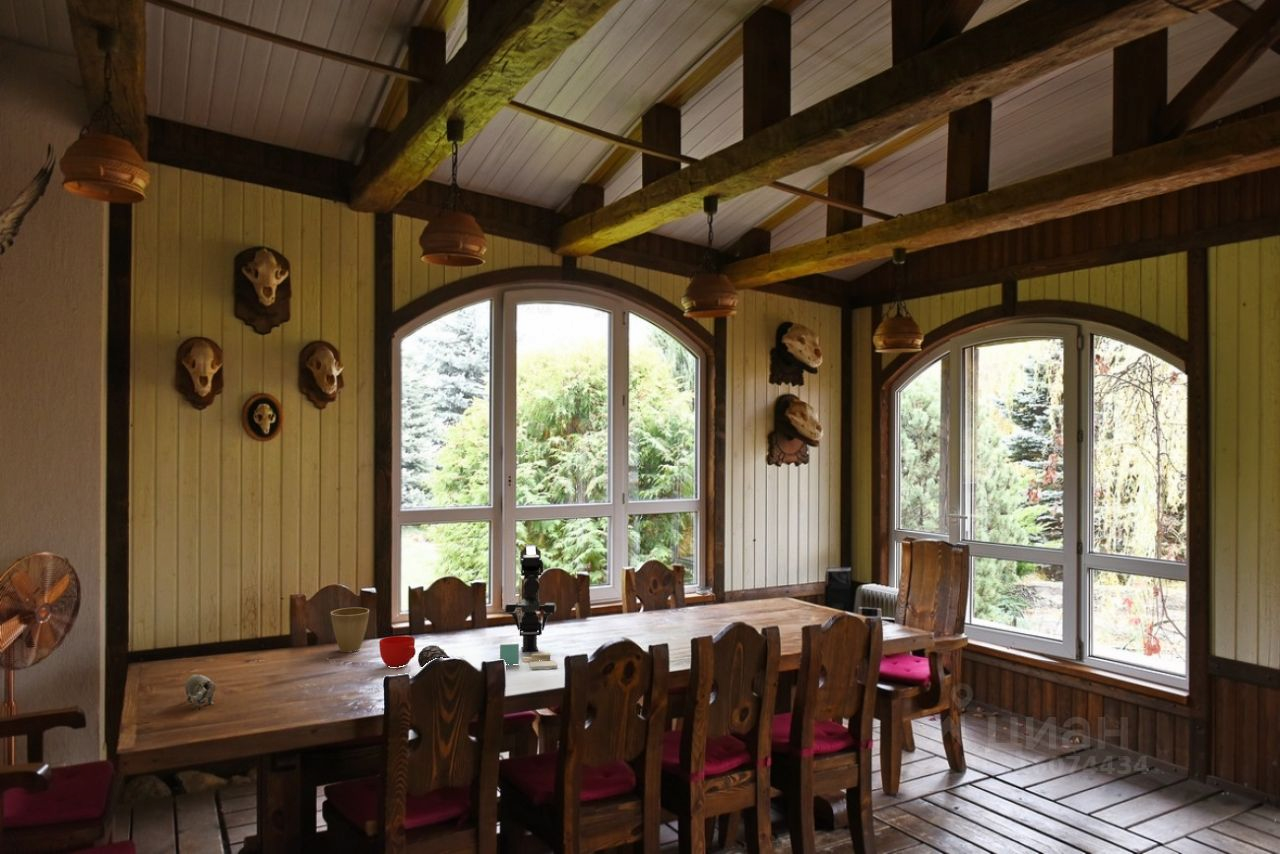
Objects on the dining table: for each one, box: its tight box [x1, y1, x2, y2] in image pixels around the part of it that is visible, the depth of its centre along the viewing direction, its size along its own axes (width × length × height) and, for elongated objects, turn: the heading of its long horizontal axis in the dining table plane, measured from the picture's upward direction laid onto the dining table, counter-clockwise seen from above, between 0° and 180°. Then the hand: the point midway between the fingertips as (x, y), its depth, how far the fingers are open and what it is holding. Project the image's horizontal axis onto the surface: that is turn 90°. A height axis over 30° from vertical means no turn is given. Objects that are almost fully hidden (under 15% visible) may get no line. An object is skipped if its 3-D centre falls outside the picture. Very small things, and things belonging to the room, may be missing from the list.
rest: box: [529, 660, 558, 670], centre depth 313 cm, size 7×10×1 cm
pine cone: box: [417, 644, 451, 668], centre depth 302 cm, size 10×18×10 cm, turn 43°
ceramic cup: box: [378, 635, 417, 667], centre depth 312 cm, size 13×17×10 cm
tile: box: [499, 642, 520, 666], centre depth 315 cm, size 2×7×8 cm, turn 102°
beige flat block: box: [522, 652, 551, 663], centre depth 322 cm, size 5×10×2 cm, turn 102°
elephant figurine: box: [184, 674, 217, 710], centre depth 265 cm, size 8×14×15 cm
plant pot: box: [330, 607, 370, 653], centre depth 336 cm, size 15×15×16 cm
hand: (530, 630), depth 313 cm, fingers open, 9 cm apart
